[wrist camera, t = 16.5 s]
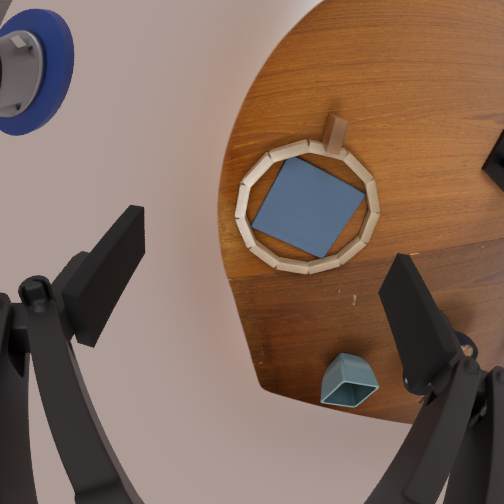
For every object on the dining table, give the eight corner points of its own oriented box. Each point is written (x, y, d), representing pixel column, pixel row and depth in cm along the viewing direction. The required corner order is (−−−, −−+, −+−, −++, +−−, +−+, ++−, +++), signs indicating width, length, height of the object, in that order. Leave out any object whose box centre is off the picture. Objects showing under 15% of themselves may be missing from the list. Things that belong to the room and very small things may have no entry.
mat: (251, 225, 45) (250, 227, 44) (289, 153, 38) (289, 154, 38) (322, 256, 47) (322, 259, 46) (364, 193, 40) (365, 194, 40)
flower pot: (372, 352, 59) (380, 387, 51) (350, 374, 63) (355, 408, 56) (338, 343, 57) (343, 380, 50) (317, 367, 62) (319, 402, 55)
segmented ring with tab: (256, 96, 34) (255, 99, 31) (402, 135, 35) (415, 143, 32) (228, 255, 47) (225, 271, 44) (349, 276, 48) (354, 292, 45)
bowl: (388, 369, 62) (396, 405, 53) (404, 317, 53) (419, 357, 44) (450, 358, 59) (462, 390, 51) (473, 307, 50) (492, 341, 42)
